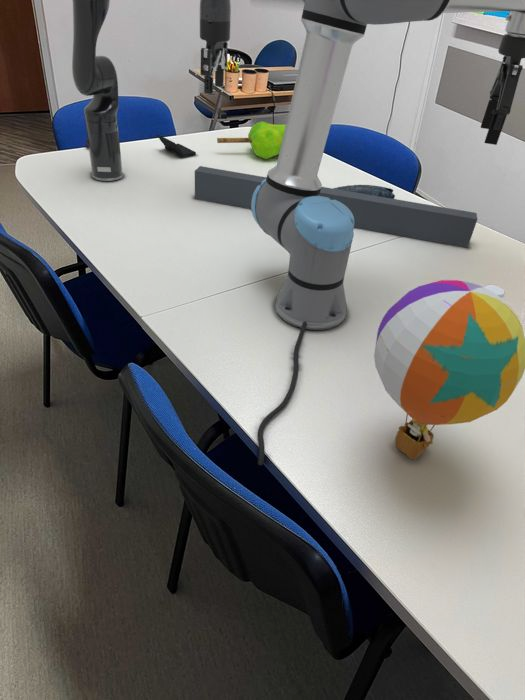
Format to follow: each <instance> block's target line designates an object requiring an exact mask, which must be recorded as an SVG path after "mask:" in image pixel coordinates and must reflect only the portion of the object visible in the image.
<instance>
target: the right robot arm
mask: <svg viewBox="0 0 525 700" xmlns="http://www.w3.org/2000/svg"><path fill="white" fill-rule="evenodd" d="M302 2H303V9H302V14H301V19H300V21H301V24H302V25H303V27H304V30H305V32H306V36H305V38H304V44H303V48H302V52H301V56H300V61H299V66H298V69H297V74H296V79H295V83H294V88H293V91H292V97H291V101H290V105H289V109H288V114H287V119H286V122H285V125H286V127H285V131H284V136H283V140H282V145H281V149H280V153H279V155H278V157H277V163H276V165H275V166H273V167H272V168H270V169H269V170H268V171H267V173H266V174H267V175H266V177H267V178H266V179H264V180H263V181H262V182H261V183H262V184H261V185H259V186H257V188H256V189H255V191H254V194H253V197H252V202H251V209H250V210H251V214H252V217H253V219H254V221H255V222H256V224H257V225H258V226H259V228H260V229H261V230H262V231H263V232H264V233H265V235H268V236H269V237H271V238H272V239H273V240H274V241H275V242H276V243H277V244H278V245H280V246H281V247H282V248H283V249H284V250H285V251H286V252H288V253H289V262H288V263H289V264H288V270H287V271H288V272H287V275H286V278H285V279H284V282H283V283H282V285H281V287H280V290H279V291H278V294H277V296H276V300H275V311H276V313H277V315H278V316H279V317H280V318H281V319H282V320H283V321H284V322H286V323H287V324H289V325H291V326H293V327H296V328H300V331H299V333H298V337H297V340H296V342H295V345H294V350H293V371H292V376H291V380H290V381H291V382H290V384H289V388H288V390H287V393H286V394H285V397H284V399H283V400H282V401H281V402H280V404H279V405H278V406H277V407H276V408H275V409H273V410H272V411H271V412H270V413H268V414H267V415H266V416H265V417H264V419H263V420H262V421H261V422H260V425H259V426H258V429H257V445H258V457H257V464H258V466H263V465H264V460H265V451H266V450H265V441H264V440H265V439H264V431H265V430H266V429H265V428H266V427H267V425H268V424H269V422H270V421H271V420H272V419H273V418H274V417H275V416H277V415H278V414H279V413H281V411H283V409H285V408H286V406H287V405H288V403H289V402H290V401H291V398H292V396H293V394H294V391H295V388H296V385H297V380H298V376H299V354H300V348H301V344H302V342H303V339H304V335H305V332H306V330H310V331H324V330H325V331H326V330H329V329H333V328H336V327H337V326H339V325H340V324H342V323H343V322H344V320H345V318H346V315H347V310H348V305H347V297H346V292H345V286H344V280H345V275H346V272H347V267H348V262H349V257H350V254H351V249H352V244H353V240H354V236H355V233H354V231H355V227H354V217H353V214H352V212H351V211H350V210H349V209H348V208H347V207H346V206H345V205H344V204H342V203H341V202H339V201H337V200H330V199H329V198H328V197H323V196H319V194H320V190H321V187H323V184H322V182H321V180H320V178H319V177H318V173H319V169H320V166H321V163H322V160H323V155H324V152H325V147H326V144H327V140H328V137H329V134H330V129H331V125H332V122H333V118H334V115H335V112H336V107H337V103H338V100H339V97H340V92H341V89H342V85H343V82H344V78H345V74H346V70H347V67H348V63H349V60H350V55H351V52H352V49H353V46H354V44H355V43H357V42H358V41H359V40H361V39H362V38H363V37H365V33H366V30H367V26H368V25H373V26H374V25H376V26H377V25H392V24H401V23H412V22H423V21H426V22H429V21H434V20H436V19H439V17H441V16H442V15H443V14H457V13H459V14H460V13H495V12H496V13H497V12H498V13H500V12H510V14H509V15H506V17H505V21H507V22H506V26H505V29H504V31H505V32H506V33H505V34H503V35H502V37H501V41H500V44H499V47H498V51H497V53H499V55H502V56H503V57H502V61H501V64H500V66H499V69H498V72H497V74H496V77H495V80H494V81H493V84H492V87H491V89H490V91H489V100H488V102H487V106H486V108H485V112H484V116H483V117H482V121H481V124H480V129H486V130H487V133H486V136H485V139H484V144H487V145H495V146H498V145H497V144H498V142H499V139H500V136H501V133H502V130H503V128H504V125H505V121H506V120H507V116H508V115H510V114H511V110H512V106H513V102H514V98H515V95H516V91H517V87H518V83H519V80H520V76H521V73H522V70H523V65H522V64H521V62H522V59H525V0H302Z"/></svg>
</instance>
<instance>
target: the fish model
mask: <svg viewBox="0 0 525 700" xmlns="http://www.w3.org/2000/svg"><path fill="white" fill-rule="evenodd" d="M332 189H338V190H344V191H350V192H356V193H362V194H368V195H374V196H380V197H386V198H391V199H396V198H395V197H396V195H395V194H394V189H393V188H389V187H387V186H386V187H385V186H381V185H380V186H379V185H371V184H352V185H342V186H337V187H332Z"/></svg>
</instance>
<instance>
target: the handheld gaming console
mask: <svg viewBox="0 0 525 700" xmlns="http://www.w3.org/2000/svg"><path fill="white" fill-rule="evenodd" d="M156 136H157V138H158V139H159V141H160V142H161V143H162V144H163V146H164V149H165V150H167V151H168V152H171V153H173V154H175V155H177V156H179V157H181V158H187V157H191V156H192V157H193V156H196V154H197V152H196V151H194V150H193V149H190V148H188V147H186V146H184V145H183V144H180V143H176V142H174V141H172V140H170V139H168V138H166V137H164V136H162V135H160V134H158V133H157V134H156Z"/></svg>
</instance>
